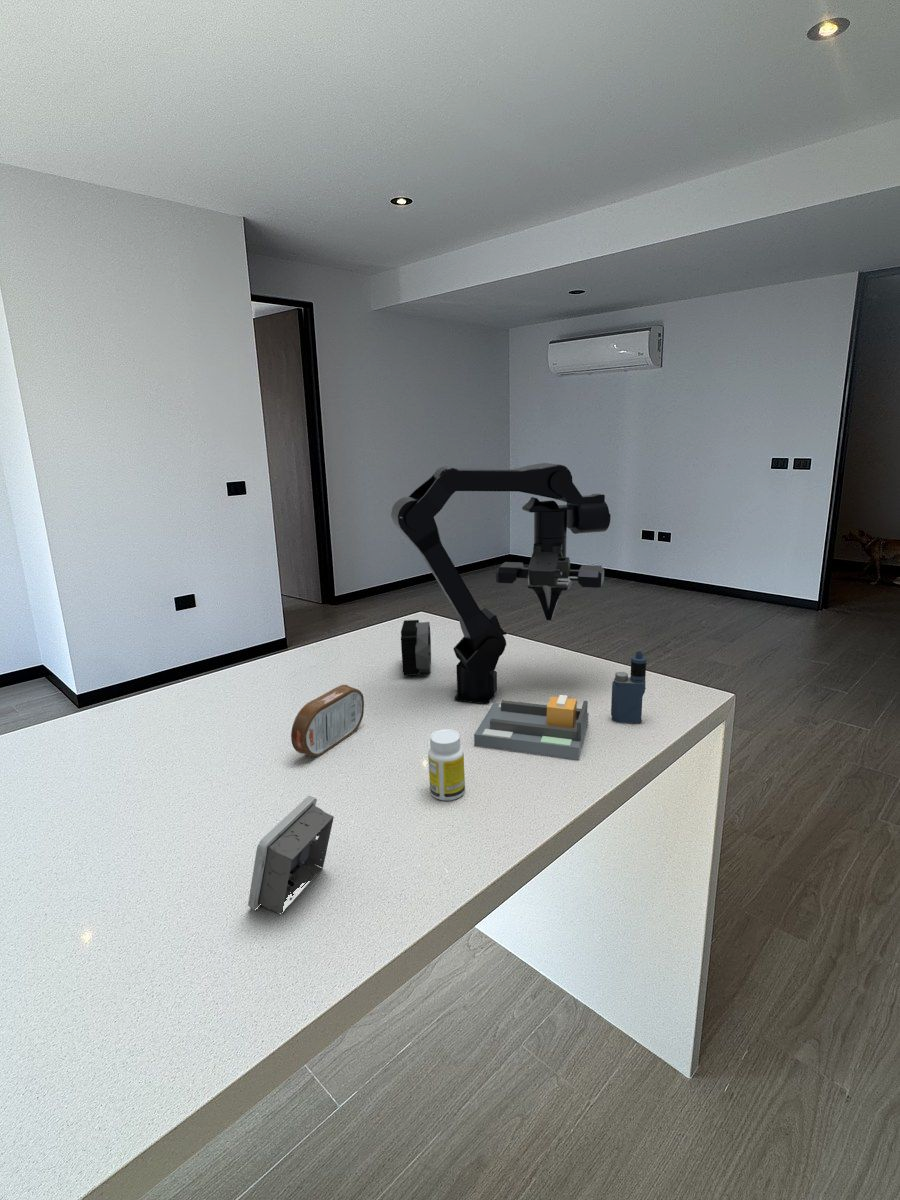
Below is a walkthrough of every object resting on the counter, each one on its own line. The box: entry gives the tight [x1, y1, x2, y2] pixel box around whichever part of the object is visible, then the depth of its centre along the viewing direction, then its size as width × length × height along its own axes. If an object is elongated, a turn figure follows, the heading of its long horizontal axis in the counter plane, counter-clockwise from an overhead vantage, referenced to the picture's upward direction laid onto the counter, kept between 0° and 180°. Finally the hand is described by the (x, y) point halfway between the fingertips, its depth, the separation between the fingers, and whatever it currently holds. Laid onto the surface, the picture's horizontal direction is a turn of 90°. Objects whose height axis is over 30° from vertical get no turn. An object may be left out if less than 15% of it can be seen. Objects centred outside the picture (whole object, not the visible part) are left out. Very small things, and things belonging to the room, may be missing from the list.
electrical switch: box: [247, 795, 335, 915], centre depth 67 cm, size 9×5×9 cm, turn 158°
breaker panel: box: [473, 699, 590, 761], centre depth 100 cm, size 16×12×5 cm
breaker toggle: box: [547, 694, 578, 728], centre depth 98 cm, size 4×4×5 cm
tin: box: [290, 684, 365, 758], centre depth 99 cm, size 15×3×8 cm, turn 150°
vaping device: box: [610, 650, 647, 724], centre depth 103 cm, size 3×5×12 cm, turn 79°
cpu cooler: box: [400, 619, 432, 676], centre depth 127 cm, size 10×6×10 cm, turn 179°
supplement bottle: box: [427, 728, 466, 801], centre depth 85 cm, size 5×5×8 cm
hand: (549, 619), depth 115 cm, fingers closed
